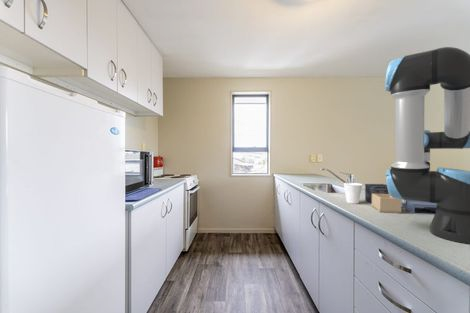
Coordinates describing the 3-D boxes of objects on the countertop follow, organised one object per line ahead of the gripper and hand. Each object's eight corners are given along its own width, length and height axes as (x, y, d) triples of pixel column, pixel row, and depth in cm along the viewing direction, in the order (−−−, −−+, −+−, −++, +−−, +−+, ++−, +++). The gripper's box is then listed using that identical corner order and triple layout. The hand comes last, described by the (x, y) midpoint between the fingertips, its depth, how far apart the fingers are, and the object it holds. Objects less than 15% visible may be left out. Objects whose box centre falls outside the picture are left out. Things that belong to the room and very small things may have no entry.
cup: (366, 204, 127) (366, 184, 127) (351, 205, 124) (352, 185, 124) (353, 200, 137) (353, 182, 136) (339, 201, 134) (339, 183, 134)
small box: (383, 201, 136) (383, 183, 136) (389, 203, 129) (389, 185, 129) (364, 200, 137) (364, 183, 137) (369, 203, 130) (370, 184, 130)
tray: (401, 213, 108) (401, 198, 108) (380, 212, 110) (380, 197, 110) (390, 207, 120) (391, 194, 120) (371, 206, 122) (371, 193, 122)
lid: (442, 215, 106) (442, 205, 106) (412, 213, 109) (412, 203, 109) (425, 208, 119) (425, 199, 119) (399, 206, 122) (399, 198, 122)
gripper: (445, 161, 114) (444, 203, 114) (388, 160, 120) (388, 200, 120) (455, 161, 107) (454, 206, 107) (395, 161, 113) (394, 203, 113)
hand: (419, 203), depth 114 cm, fingers open, 13 cm apart
